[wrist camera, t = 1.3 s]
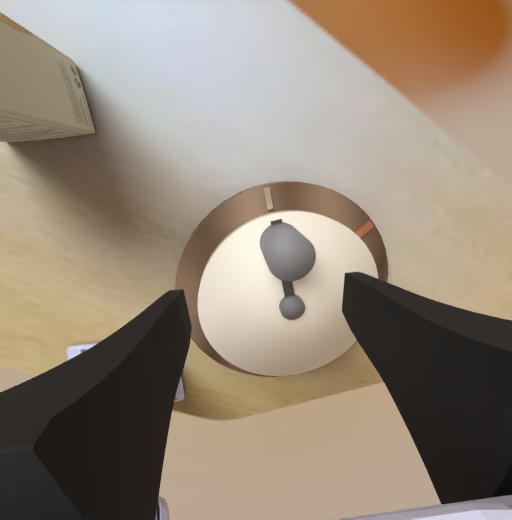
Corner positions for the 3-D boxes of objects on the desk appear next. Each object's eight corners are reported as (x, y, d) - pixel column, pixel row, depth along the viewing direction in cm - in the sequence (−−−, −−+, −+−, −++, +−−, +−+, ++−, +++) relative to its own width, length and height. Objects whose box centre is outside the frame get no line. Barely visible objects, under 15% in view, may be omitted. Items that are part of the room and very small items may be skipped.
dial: (370, 342, 24) (405, 384, 20) (224, 378, 24) (224, 430, 19) (365, 190, 19) (411, 197, 14) (174, 234, 18) (157, 257, 14)
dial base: (192, 377, 25) (190, 388, 24) (161, 186, 19) (156, 187, 17) (366, 357, 27) (373, 367, 26) (395, 177, 20) (407, 177, 19)
